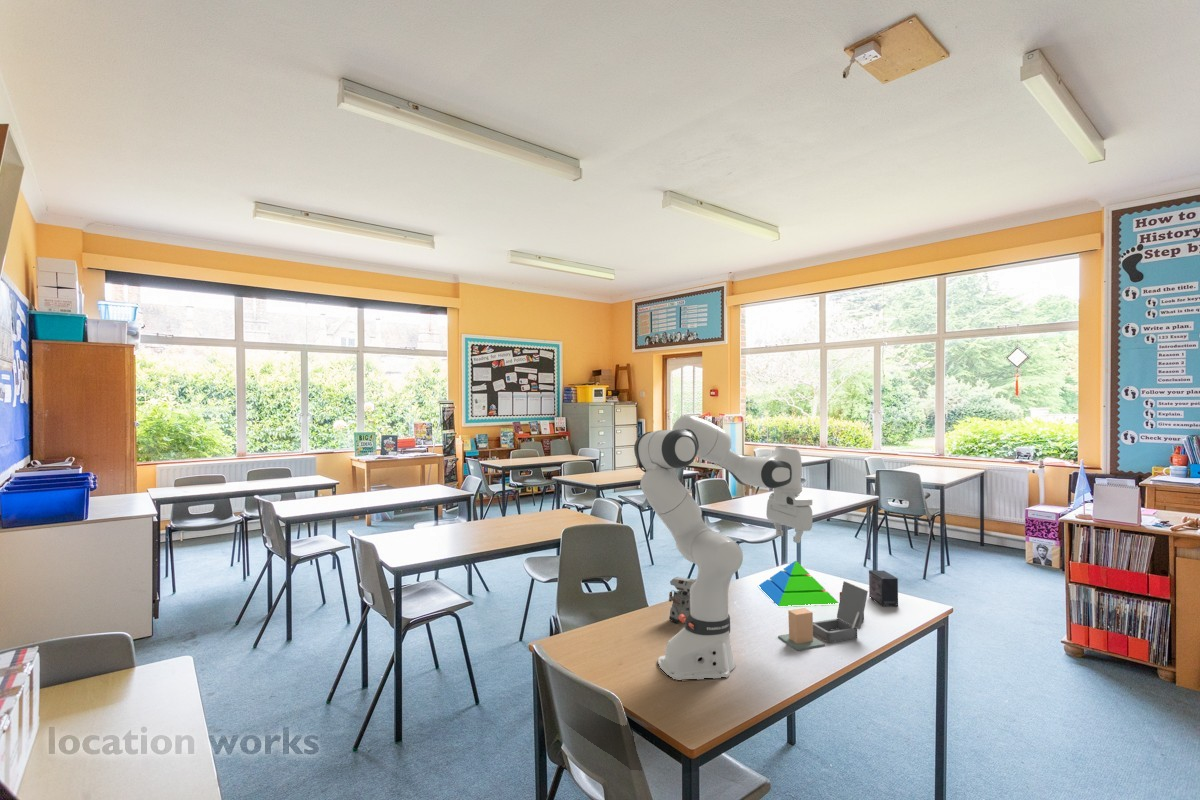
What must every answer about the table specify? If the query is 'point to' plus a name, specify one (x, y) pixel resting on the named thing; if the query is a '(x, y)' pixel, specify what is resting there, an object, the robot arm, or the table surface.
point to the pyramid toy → (795, 587)
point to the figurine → (680, 598)
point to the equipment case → (844, 616)
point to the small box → (883, 588)
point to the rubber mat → (801, 645)
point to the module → (800, 625)
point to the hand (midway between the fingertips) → (788, 539)
